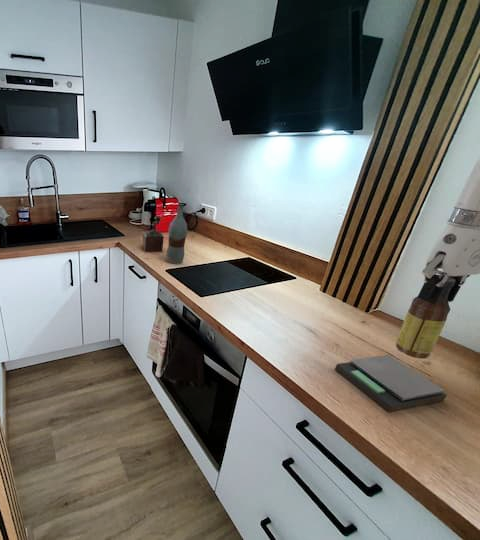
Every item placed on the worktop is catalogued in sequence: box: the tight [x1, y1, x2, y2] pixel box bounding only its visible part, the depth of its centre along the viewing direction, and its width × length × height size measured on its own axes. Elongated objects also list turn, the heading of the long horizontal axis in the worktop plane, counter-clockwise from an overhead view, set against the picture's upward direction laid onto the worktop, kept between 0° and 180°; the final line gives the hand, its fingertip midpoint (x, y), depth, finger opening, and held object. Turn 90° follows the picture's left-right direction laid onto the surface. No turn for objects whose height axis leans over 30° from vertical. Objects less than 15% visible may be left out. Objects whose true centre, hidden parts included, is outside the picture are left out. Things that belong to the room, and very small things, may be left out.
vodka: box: [165, 203, 188, 265], centre depth 144 cm, size 9×9×30 cm
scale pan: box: [349, 354, 446, 401], centre depth 73 cm, size 13×13×1 cm
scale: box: [334, 361, 448, 413], centre depth 73 cm, size 17×14×3 cm
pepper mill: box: [142, 215, 165, 253], centre depth 166 cm, size 16×11×18 cm
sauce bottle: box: [395, 274, 456, 360], centre depth 66 cm, size 6×6×20 cm
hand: (434, 298), depth 64 cm, fingers closed on sauce bottle, 4 cm apart
